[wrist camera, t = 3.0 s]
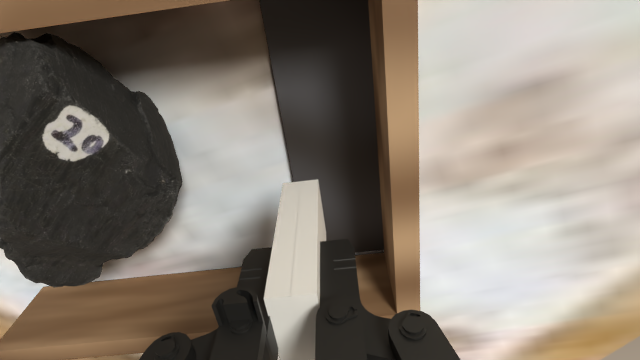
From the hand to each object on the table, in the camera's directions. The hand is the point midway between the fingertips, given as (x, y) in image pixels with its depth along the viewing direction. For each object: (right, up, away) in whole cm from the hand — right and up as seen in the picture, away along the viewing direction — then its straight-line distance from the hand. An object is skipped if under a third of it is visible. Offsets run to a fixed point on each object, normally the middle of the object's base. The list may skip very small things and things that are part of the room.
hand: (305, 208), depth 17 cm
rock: (-15, +1, +6) cm, 16 cm away
